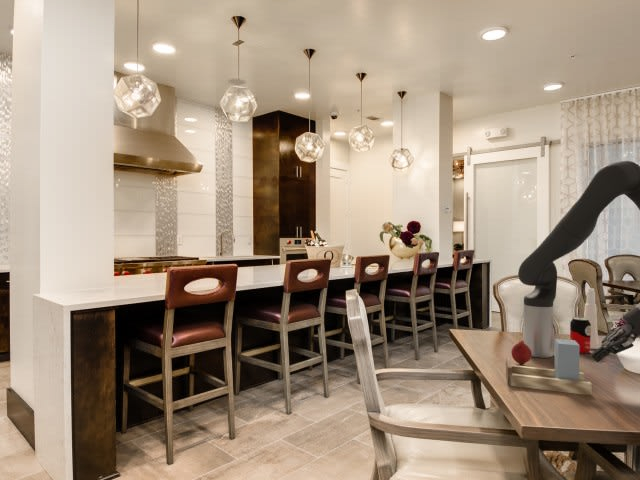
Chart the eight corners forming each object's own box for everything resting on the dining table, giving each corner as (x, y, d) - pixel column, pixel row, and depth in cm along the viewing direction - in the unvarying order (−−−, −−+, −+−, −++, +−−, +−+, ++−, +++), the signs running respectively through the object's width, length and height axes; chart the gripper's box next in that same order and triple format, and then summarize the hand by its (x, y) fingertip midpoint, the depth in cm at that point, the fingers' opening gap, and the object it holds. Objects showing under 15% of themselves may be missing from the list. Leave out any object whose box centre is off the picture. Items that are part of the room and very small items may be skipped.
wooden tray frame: (583, 382, 123) (583, 365, 123) (591, 395, 114) (591, 376, 114) (505, 374, 130) (506, 357, 130) (507, 385, 121) (507, 367, 121)
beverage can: (573, 353, 156) (573, 319, 156) (567, 348, 162) (568, 316, 162) (592, 354, 154) (593, 320, 154) (586, 350, 160) (587, 317, 160)
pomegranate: (522, 368, 136) (523, 342, 136) (507, 363, 142) (507, 339, 141) (535, 366, 139) (535, 341, 139) (519, 361, 144) (519, 337, 144)
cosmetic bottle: (594, 349, 161) (595, 289, 161) (577, 346, 166) (578, 288, 166) (602, 347, 164) (603, 289, 164) (585, 344, 169) (586, 287, 169)
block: (574, 380, 122) (575, 340, 122) (578, 386, 117) (579, 345, 117) (554, 377, 124) (554, 338, 124) (557, 384, 118) (558, 343, 118)
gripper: (628, 302, 121) (577, 342, 125) (645, 309, 108) (588, 354, 113) (651, 323, 119) (598, 363, 123) (671, 332, 107) (611, 377, 111)
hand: (593, 358), depth 118 cm, fingers closed
